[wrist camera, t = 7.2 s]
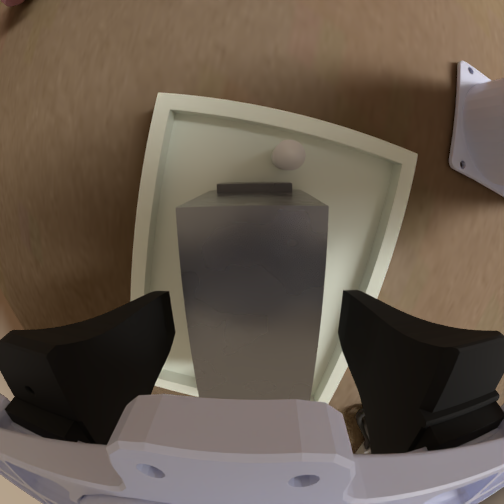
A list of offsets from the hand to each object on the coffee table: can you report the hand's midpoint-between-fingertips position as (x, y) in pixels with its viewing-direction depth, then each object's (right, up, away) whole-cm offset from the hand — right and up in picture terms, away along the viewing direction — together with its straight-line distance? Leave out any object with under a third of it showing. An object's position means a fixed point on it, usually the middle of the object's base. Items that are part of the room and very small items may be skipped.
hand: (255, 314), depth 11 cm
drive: (0, +1, +4) cm, 4 cm away
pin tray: (0, +1, +5) cm, 5 cm away
